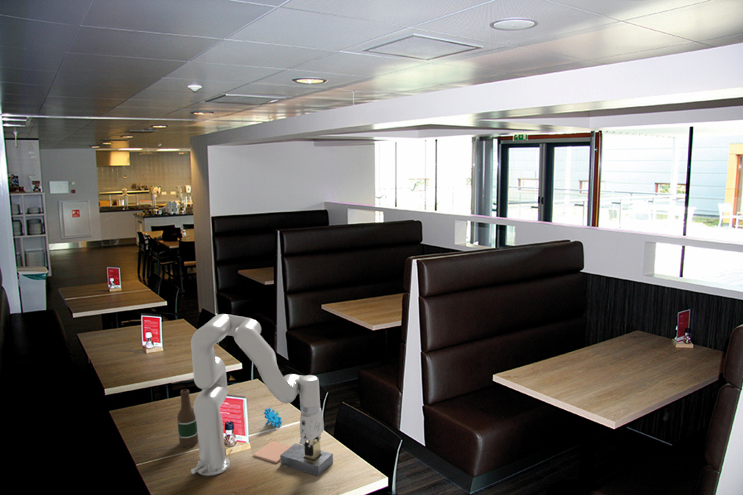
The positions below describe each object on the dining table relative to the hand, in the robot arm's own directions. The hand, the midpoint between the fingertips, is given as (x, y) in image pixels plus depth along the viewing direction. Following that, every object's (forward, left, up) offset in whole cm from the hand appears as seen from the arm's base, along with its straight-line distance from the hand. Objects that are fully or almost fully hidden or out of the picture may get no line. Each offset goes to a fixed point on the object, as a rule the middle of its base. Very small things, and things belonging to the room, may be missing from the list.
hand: (312, 451), depth 209 cm
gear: (+20, +36, -6) cm, 41 cm away
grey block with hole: (0, +3, -6) cm, 7 cm away
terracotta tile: (+1, +20, -6) cm, 21 cm away
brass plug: (0, 0, -6) cm, 6 cm away
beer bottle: (-9, +58, -6) cm, 59 cm away
